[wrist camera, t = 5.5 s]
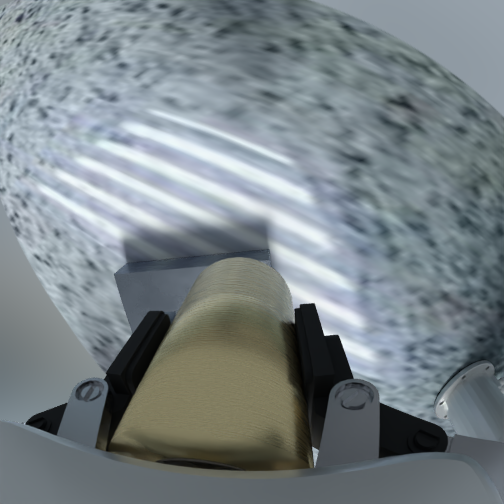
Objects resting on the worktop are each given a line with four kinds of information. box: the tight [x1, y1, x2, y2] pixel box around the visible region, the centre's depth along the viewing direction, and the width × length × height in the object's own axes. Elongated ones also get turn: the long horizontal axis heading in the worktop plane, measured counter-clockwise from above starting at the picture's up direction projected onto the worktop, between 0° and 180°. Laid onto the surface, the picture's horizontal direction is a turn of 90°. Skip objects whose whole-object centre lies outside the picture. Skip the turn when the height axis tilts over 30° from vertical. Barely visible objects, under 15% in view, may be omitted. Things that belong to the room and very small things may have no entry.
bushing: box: [108, 257, 314, 471], centre depth 9 cm, size 5×5×9 cm
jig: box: [114, 249, 271, 333], centre depth 29 cm, size 15×15×3 cm
